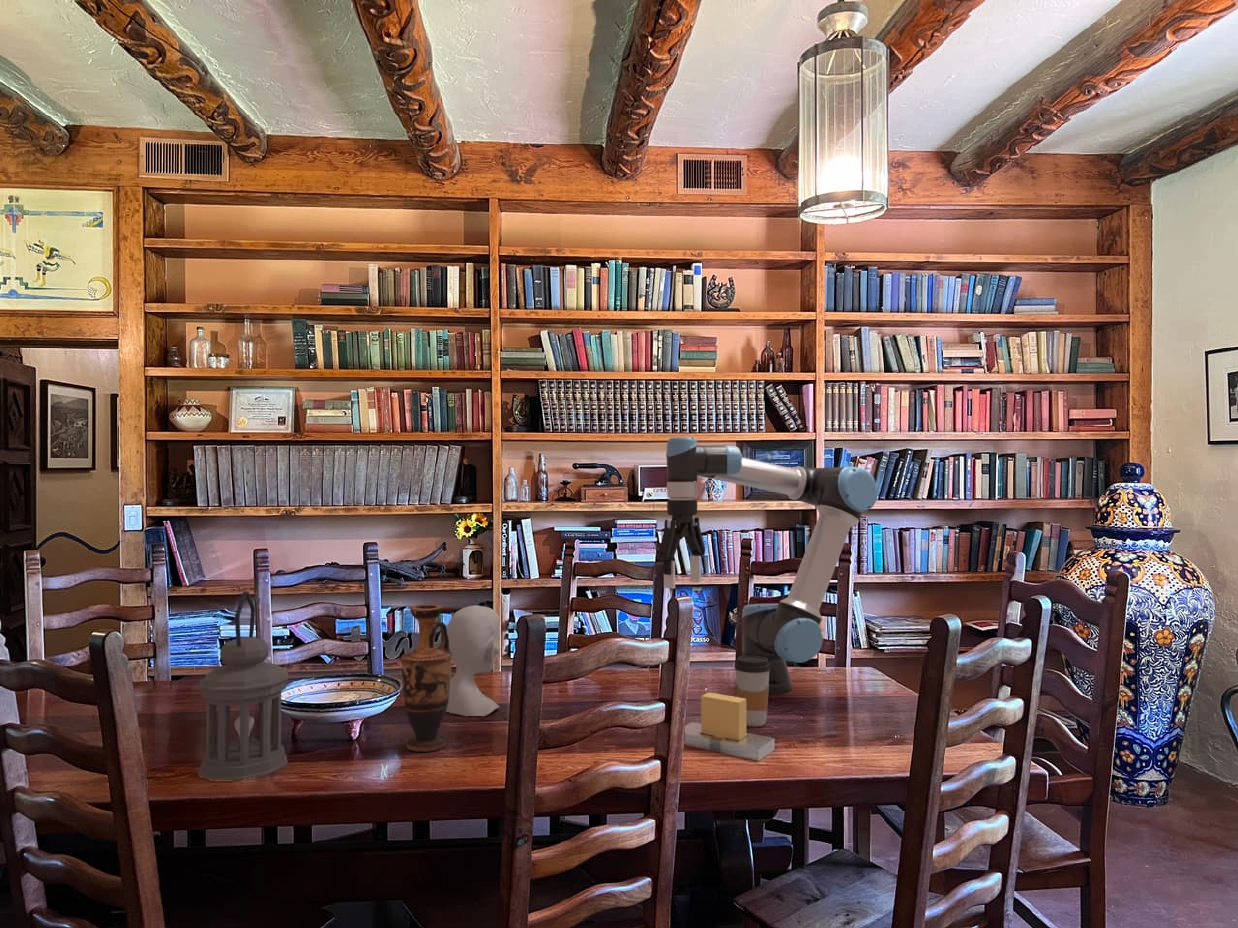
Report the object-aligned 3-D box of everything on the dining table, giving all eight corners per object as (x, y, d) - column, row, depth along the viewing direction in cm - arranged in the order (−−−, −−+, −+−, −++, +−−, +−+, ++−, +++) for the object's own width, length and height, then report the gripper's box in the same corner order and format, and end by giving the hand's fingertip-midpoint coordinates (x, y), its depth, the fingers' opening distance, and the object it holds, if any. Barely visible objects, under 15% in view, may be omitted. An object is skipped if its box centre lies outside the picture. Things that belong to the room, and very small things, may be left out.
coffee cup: (770, 729, 184) (770, 663, 184) (733, 726, 186) (733, 662, 186) (770, 718, 192) (770, 655, 193) (735, 716, 194) (735, 654, 194)
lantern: (284, 776, 155) (285, 595, 155) (187, 786, 150) (189, 599, 151) (293, 748, 171) (294, 584, 171) (206, 756, 166) (208, 587, 167)
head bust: (529, 701, 207) (529, 604, 208) (478, 720, 191) (478, 615, 191) (467, 689, 219) (467, 597, 219) (414, 706, 203) (414, 607, 203)
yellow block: (701, 743, 173) (701, 695, 174) (709, 738, 176) (709, 692, 177) (739, 751, 168) (739, 702, 168) (746, 746, 171) (746, 698, 171)
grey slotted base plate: (674, 742, 175) (674, 731, 175) (692, 733, 181) (691, 721, 181) (758, 760, 163) (758, 748, 163) (774, 749, 170) (774, 738, 170)
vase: (406, 757, 165) (407, 612, 166) (395, 742, 175) (396, 604, 175) (458, 749, 170) (458, 608, 171) (444, 735, 180) (445, 601, 180)
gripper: (692, 497, 212) (692, 578, 211) (643, 500, 191) (644, 589, 190) (717, 497, 207) (718, 579, 207) (670, 500, 186) (671, 592, 186)
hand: (682, 584), depth 199 cm, fingers open, 13 cm apart
